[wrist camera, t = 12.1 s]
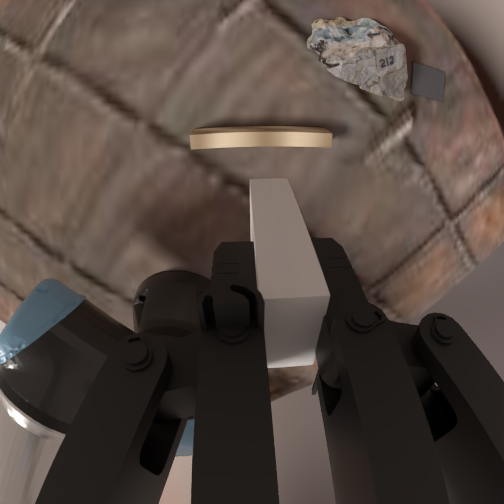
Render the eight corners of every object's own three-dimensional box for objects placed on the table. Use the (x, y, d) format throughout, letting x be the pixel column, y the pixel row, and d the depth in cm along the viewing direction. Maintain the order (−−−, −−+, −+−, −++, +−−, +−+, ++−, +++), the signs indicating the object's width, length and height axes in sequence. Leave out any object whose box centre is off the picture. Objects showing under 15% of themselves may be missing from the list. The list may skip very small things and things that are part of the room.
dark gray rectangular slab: (410, 93, 26) (411, 93, 26) (412, 61, 24) (413, 62, 24) (441, 101, 26) (442, 101, 26) (444, 71, 24) (445, 72, 24)
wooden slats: (195, 142, 30) (191, 149, 27) (188, -28, 18) (183, -36, 15) (323, 140, 30) (331, 147, 27) (326, -26, 18) (334, -33, 16)
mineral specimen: (343, 35, 26) (314, 98, 29) (317, -7, 20) (280, 61, 22) (419, 53, 22) (395, 124, 24) (409, 5, 15) (381, 83, 18)
